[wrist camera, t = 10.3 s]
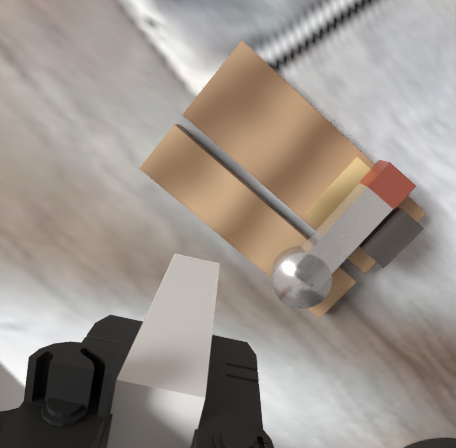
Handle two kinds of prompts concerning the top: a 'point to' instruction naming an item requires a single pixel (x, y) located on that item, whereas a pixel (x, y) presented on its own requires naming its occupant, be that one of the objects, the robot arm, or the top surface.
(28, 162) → the top surface
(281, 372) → the top surface
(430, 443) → the robot arm
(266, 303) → the top surface
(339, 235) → the latch arm
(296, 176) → the door boards
